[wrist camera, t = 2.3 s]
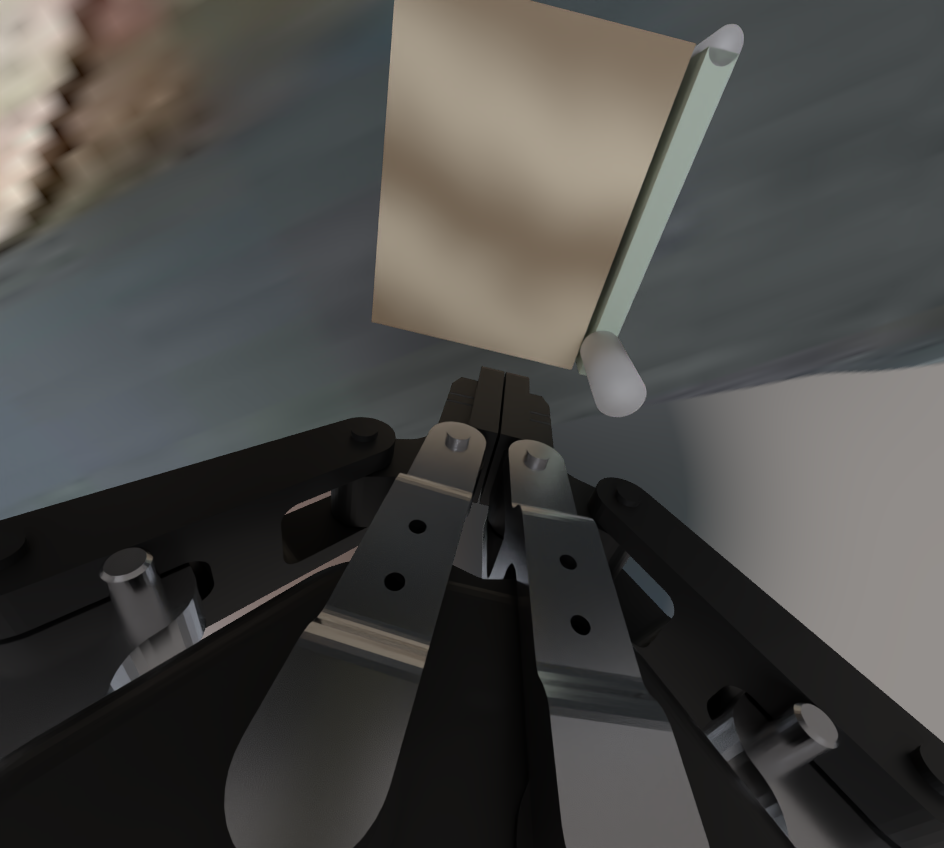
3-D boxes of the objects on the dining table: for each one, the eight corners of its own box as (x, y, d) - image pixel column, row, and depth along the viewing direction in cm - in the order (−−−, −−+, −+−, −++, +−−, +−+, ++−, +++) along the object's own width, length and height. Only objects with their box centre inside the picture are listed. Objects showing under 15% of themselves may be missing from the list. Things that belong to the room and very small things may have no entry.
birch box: (449, 51, 22) (396, -34, 13) (624, 95, 22) (696, 43, 13) (420, 272, 29) (371, 321, 19) (556, 305, 29) (571, 369, 20)
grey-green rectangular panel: (627, 82, 22) (787, -51, 9) (659, 91, 22) (867, -29, 9) (555, 305, 28) (582, 421, 15) (579, 311, 29) (628, 432, 15)
